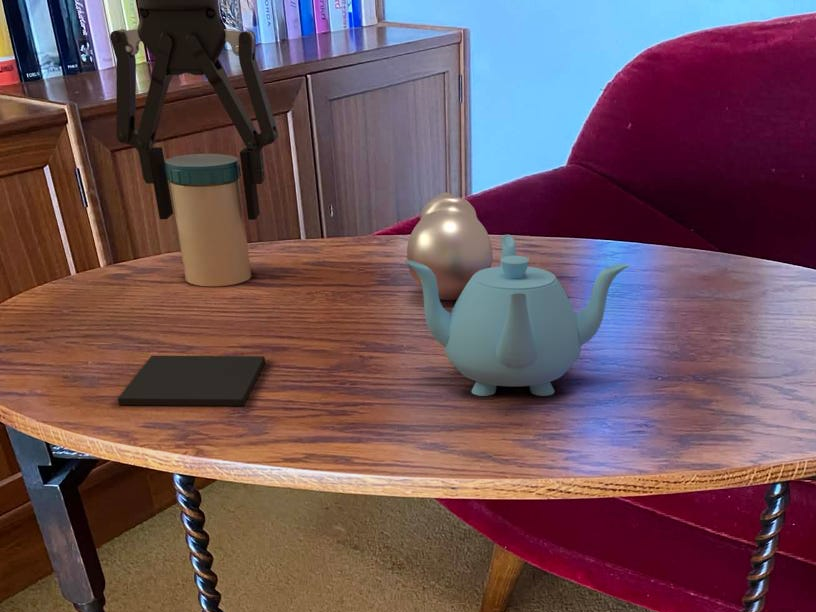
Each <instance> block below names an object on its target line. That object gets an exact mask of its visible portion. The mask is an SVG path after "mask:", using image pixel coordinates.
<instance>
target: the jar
mask: <svg viewBox="0 0 816 612" xmlns="http://www.w3.org/2000/svg"><path fill="white" fill-rule="evenodd" d="M240 181H241V180H240V178H239V179H237V180H234V181H230V182H226V183H219V184H206V185H189V184H179V183H174V182H170V181H169V180H168V184H169V190H170V196H171V202H172V208H173V215H174V218H175V225H176V231H177V237H178V243H179V249H180V255H181V256H180V257H181V262H182V266H183V273H184V279H185V282H187V283H188V284H191V285H195V286H199V287H227V286H232V285H233V286H234V285H238V284H243V283H244V282H247V281H249V280H250V279H251V278H252V269H251V268H252V267H251V261H250V254H249V252H250V251H249V245H248V237H247V229H246V221H245V214H244V207H243V206H244V205H243V197H242V191H241V183H240Z"/></svg>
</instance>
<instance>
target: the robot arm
mask: <svg viewBox="0 0 816 612" xmlns="http://www.w3.org/2000/svg"><path fill="white" fill-rule="evenodd" d="M137 6H138V10H139V22H138V25H137V28H133V29H128V30H127V29H124V28H121V29H117V30H116V29H115V30H113V31H112V32H110V33H109V39H110V42H111V43H110V44H111V46H112V49H113V53H114V55H115V56H114V57H115V59H116V65H115V66H116V67H115V68H116V69H115V70H116V71H115V72H116V74H115V75H116V78H115V79H116V85H115V86H116V88H115V89H116V98H115V99H116V117H115V118H116V119H115V120H116V131H115V133H116V139H117V141H118V142H119V143H120V144H127V145H129V146H132V147H134V148H135V149H136V151H137V153H138V156H139V157H138V158H139V162H140V163H139V164H140V168H141V173H142V178H143V180H144V182H145V184H149V185H153V187H154V194H155V200H156V206H157V211H158V216H159V220H168V219H169V218H170V217H171V216H173V215H174V208H173V202H172V196H171V190H170V184H169V180H167V177H166V171H165V157H164V151H163V147H162V146H160V147H159V146H155V147H154V145H155V144H156V141H155V140H156V136H157V132H158V128H159V124H160V120H161V116H162V112H163V110H164V105H165V101H166V98H167V94H168V90H169V86H170V83H171V81H172V79H173V76H180V75H183V74H189V75H193V76H203V75H204V76H205V79H206V80H207V82H208V83H209V84H210V85H211V87H212V88H213V90H214V92H215V93H216V96H217V97H218V98H219V100H220V103H221V104H222V106H223V108H224V109H225V111H226V113H227V115H228V117H229V118H230V120H231V122H232V124H233V125H234V128H235V130H236V131H237V133H238V135H239V136H240V138H241V140H242V141H243V143H244V145H245V147H244V148H243V149H242V150H240V151H239V159H240V168H241V176H242V181H243V182H242V183H243V191H244V197H245V204H246V205H245V206H246V212H247V213H246V214H247V220H249V221H250V220H251V221H254V220H257V218H258V217H259V216H260V214H261V211H260V204H259V194H258V186H257V185H262V184H263V183H264V181H265V177H266V172H265V163H264V155H263V148H264V147H266V146H268V145H269V146H270V145H272V144H273V143H274V142H275V141H277V139H278V138H279V132H278V127H277V124H276V121H275V118H274V114H273V112H272V111H273V110H272V108H271V104H270V101H269V97H268V94H267V91H266V88H265V85H264V81H263V78H262V74H261V71H260V68H259V64H258V60H257V55H256V53H257V51H256V49H257V48H256V45H257V43H256V42H257V41H256V40H257V38H256V34H255V32H254V31H253V30H251V29H246V30H236V29H232V28H231V29H230V28H227V26H226V24H225V23H224V21H223V19H222V16H221V12H220V4H219V0H137ZM140 43H142V44H143V45H144V46H145V48H146V49H147V50H148V51H149V53H150V54H151V55H152V57H153V58H154V62H153V67H152V70H151V74H150V83H149V87H148V92H147V95H146V98H145V102H144V108H143V111H142V114H141V118H140V121H139V126H138V130H136V115H137V114H136V108H137V107H136V106H137V104H136V102H137V99H136V98H137V97H136V96H137V60H136V55H137V54H138V53H139V52H140ZM226 43H228V44H229V45H230V47H231V51H232V53H233V54H234V55H235V56H237V57H238V61H239V65H240V69H241V72H242V76H243V79H244V82H245V85H246V89H247V92H248V95H249V98H250V102H251V105H252V109H253V111H254V115H255V119H256V121H257V124H258V128H259V131H260V132H259V131H258V130H257V128H256V127H255V124H254V123H253V121H252V119H251V117H250V115H249V114H248V112H247V110H246V108H245V107H244V104H243V102H242V100H241V99H240V97H239V96H238V94H237V92H236V89H235V88H234V86H233V85H232V83H231V81H230V79H229V77H228V73H227V72H226V69H225V68H224V66H223V64H222V62H221V61H220V58H219V57H220V55H221V53H222V51H223V49H224V46H225V44H226Z"/></svg>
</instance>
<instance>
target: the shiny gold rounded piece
mask: <svg viewBox="0 0 816 612" xmlns="http://www.w3.org/2000/svg"><path fill="white" fill-rule="evenodd" d="M488 233H489V232H488V231H487V229H486V228H485V226H484V225H483V223H482V222H481V221H480V220H479V219H478V217H477V212H476V209H475V207H474V206H473V205H472V204H471V203H470V202H469V201H468V200H467V199H465V198H463V197H458V196H454V195H453V194H452V193H450V192H442V193H440V194H438V195H436V196H434V197H432V198H431V199H430V200H428V202H426V204H425V205H424V207H423V208H422V210H421V212H420V217H419V221H418V222H417V223H416V225H415V226H414V227H413V229H412V232H411V233H410V236H409V239H408V242H407V247H406V260H410V261H414V262H417V263H420V264H423V265H425V266H427V267H429V268H430V269H431V270H432V272H433V273H434V275H435V277H436V280H437V286H438V295H439V300H443V301H457V300H458V298H459V296H460V295H461V293H462V291H463V290H464V288H465V286H466V285H467V283H468V282H469V280H470V279H471V278H472V276H473V275H474V274H475V273H476V272H478V271H480V270H483V269H486V268H491V267H492V264H493V253H494V252H493V246H492V245H493V244H492V241H491V238H490V235H489V234H488ZM407 266H408V269H409V272H410V274H411V276H412V278H413V280H414V281H415V283H416V284H417V285H418V286H419V288H420V289H421V290H423V288H422V284H421V281H420V278H419V277H418V275H417V273H416V272H415V271H414V270H413V269H412V268H411V267H410V266H409V265H408V264H407Z"/></svg>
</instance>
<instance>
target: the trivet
mask: <svg viewBox="0 0 816 612" xmlns="http://www.w3.org/2000/svg"><path fill="white" fill-rule="evenodd" d="M265 357H266V356H261V355H259V356H258V355H240V356H239V355H151V356H150V357H149V358H148V360H147V361H146V362H145V363H144V365H143V366H142V367H141V368H140V370H139V371H138V372H137V373H136V375H135V376H133V379H131V381H130V382H129V384H128V385H127V386H126V387H125V389H124V390H123V392H121V393H120V395H119V396H118V397H117V402H118V405H119V406H191V407H192V406H193V407H194V406H197V407H198V406H199V407H201V406H202V407H203V406H207V407H210V406H211V407H213V406H214V407H215V406H216V407H220V406H222V407H243V406H244V405H245V404H246V402H247V399H248V398H249V395H250V394H251V391H252V389H253V388H254V385H255V383H256V381H257V379H258V378H259V376H260V373H262V370H263V368H264V366H265V364H266V358H265Z"/></svg>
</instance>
